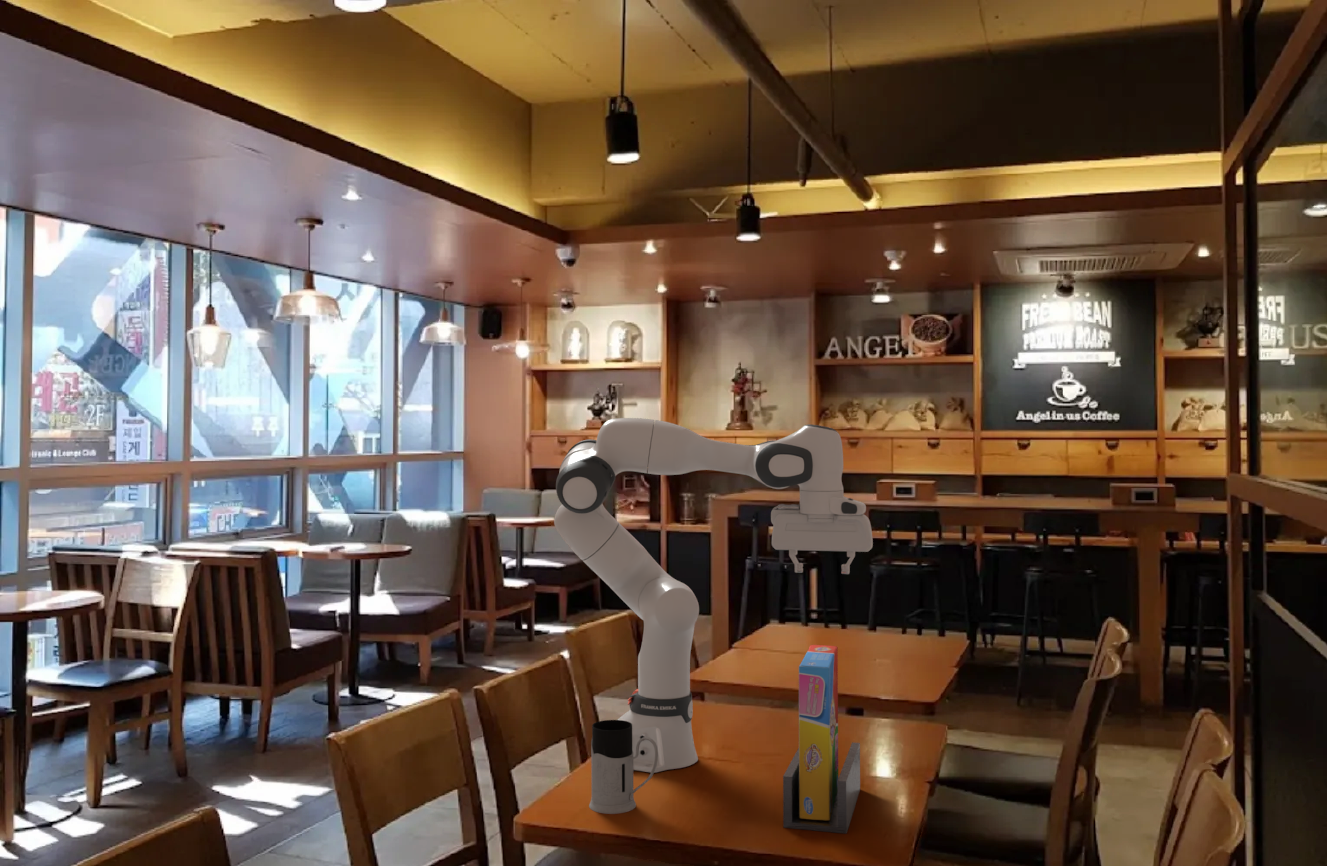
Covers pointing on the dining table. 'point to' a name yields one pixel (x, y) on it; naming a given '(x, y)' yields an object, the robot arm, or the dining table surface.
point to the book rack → (843, 799)
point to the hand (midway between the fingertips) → (822, 572)
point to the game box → (818, 732)
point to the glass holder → (614, 766)
